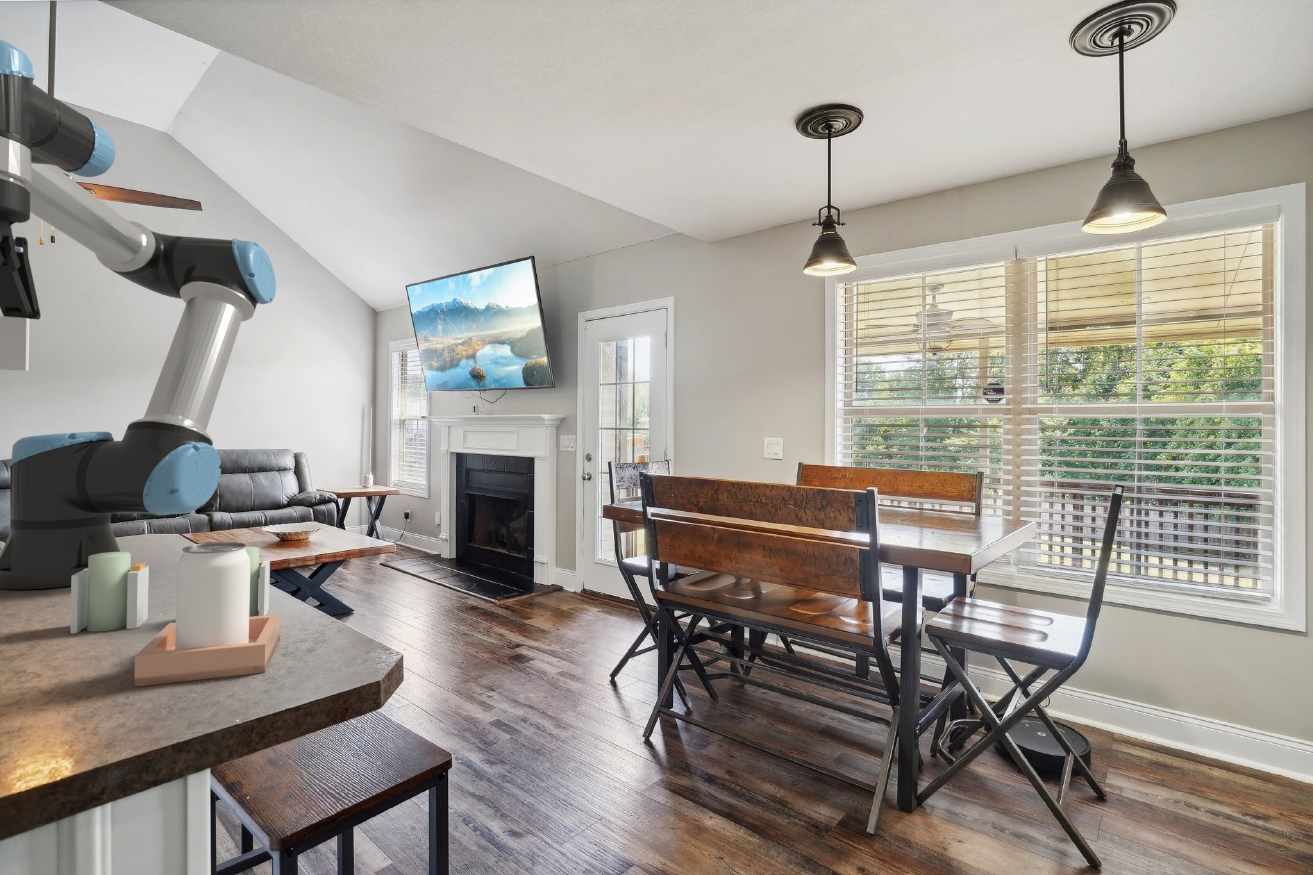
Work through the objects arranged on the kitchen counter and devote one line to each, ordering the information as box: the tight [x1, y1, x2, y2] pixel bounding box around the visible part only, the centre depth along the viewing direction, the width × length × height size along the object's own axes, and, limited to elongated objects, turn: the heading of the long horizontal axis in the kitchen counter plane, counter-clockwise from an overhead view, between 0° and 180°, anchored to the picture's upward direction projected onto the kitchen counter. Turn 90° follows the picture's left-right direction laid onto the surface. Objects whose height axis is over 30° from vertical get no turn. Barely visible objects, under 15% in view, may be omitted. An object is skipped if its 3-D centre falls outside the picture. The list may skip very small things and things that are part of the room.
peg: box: [86, 551, 132, 632], centre depth 78 cm, size 4×4×9 cm
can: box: [175, 541, 250, 650], centre depth 67 cm, size 6×6×12 cm
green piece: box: [245, 546, 260, 617], centre depth 84 cm, size 4×4×9 cm
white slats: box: [69, 559, 271, 634], centre depth 81 cm, size 4×20×8 cm, turn 114°
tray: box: [133, 613, 282, 688], centre depth 69 cm, size 11×11×3 cm
